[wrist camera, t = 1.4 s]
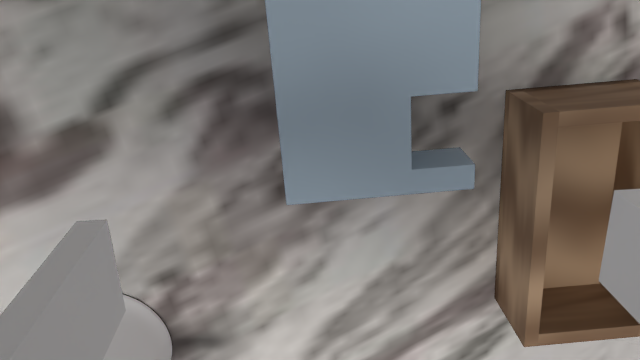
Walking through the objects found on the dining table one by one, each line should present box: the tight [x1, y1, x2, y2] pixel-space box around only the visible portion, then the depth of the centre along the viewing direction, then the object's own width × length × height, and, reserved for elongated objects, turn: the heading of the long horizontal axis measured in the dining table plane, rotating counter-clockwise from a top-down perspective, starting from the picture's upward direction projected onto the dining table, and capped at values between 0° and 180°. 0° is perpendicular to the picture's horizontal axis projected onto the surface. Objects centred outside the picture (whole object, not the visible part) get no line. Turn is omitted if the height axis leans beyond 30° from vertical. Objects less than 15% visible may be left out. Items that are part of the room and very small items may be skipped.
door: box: [265, 0, 481, 205], centre depth 25 cm, size 14×9×2 cm, turn 4°
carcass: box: [495, 79, 640, 347], centre depth 30 cm, size 14×8×9 cm, turn 4°
